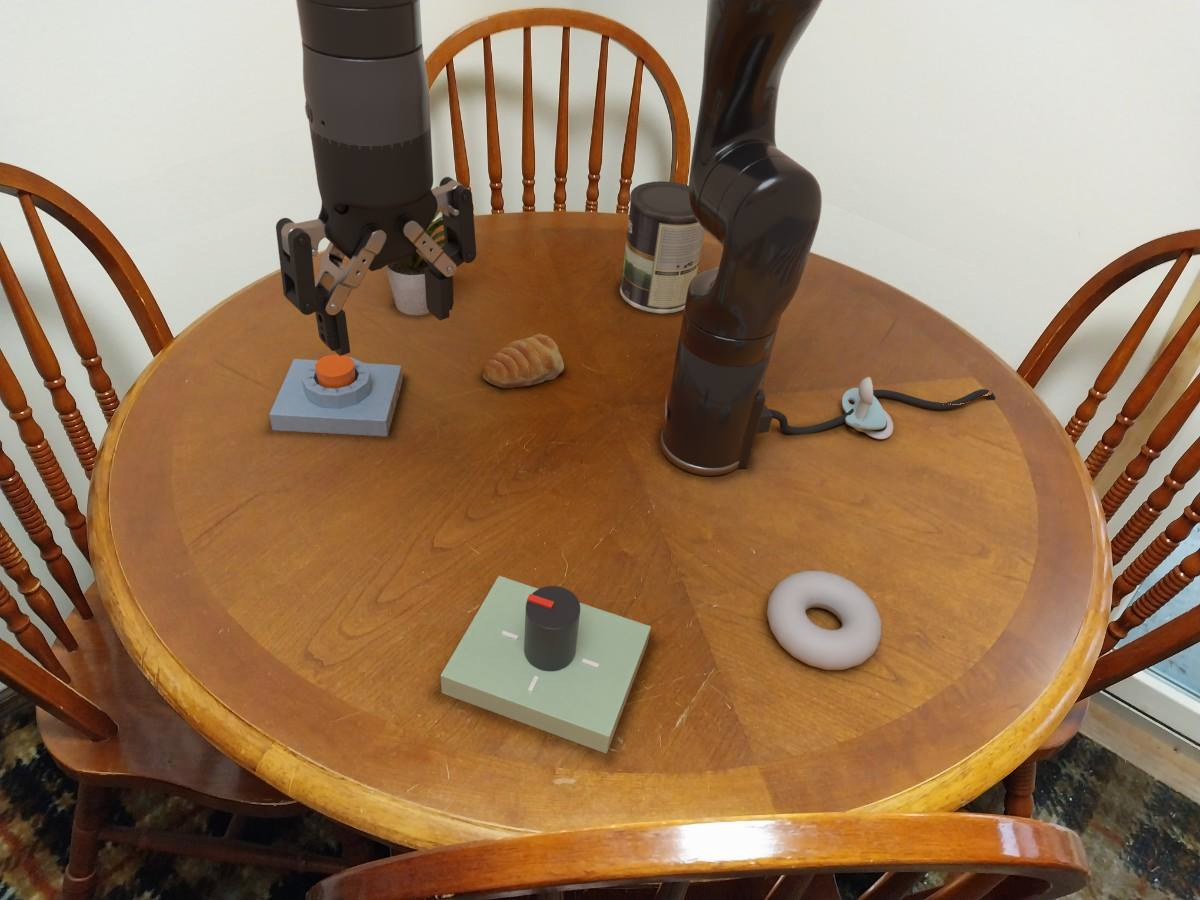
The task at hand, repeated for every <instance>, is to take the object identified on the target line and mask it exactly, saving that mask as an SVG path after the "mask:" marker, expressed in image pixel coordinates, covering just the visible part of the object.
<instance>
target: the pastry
mask: <svg viewBox="0 0 1200 900" xmlns="http://www.w3.org/2000/svg"><path fill="white" fill-rule="evenodd" d="M559 349H560V348H559V346H558V345H557V343H555V341H554V340H553V339H552V337H550V336H549V335H545V334H542V333H537V334H534V335H533V336H530V337H527V338H520V339H519V340H518V339H517V340H512V341H511V342H509V343H508V344H507V345H505V347H503V348H500V350H499V351H497V352H496V353H495V354H493V356H491V357H490V358H489V359H488V360H487V361H486V362H485V363H484V365H483V373H482V378H483V379H484V380H485V382H487V383H489V384H491V385H493V386H495V387H498V388H503V389H512V388H518V387H522V388H525V387H530V386H533V385H534V386H535V385H538V384H542V383H544V382H545V381H551V380H555V379H556V378H557V377H558V376H559V375H560V374H561V373H563V372H564V370H565V363H564V361H563V356H562V355H561V353H560V350H559Z"/></svg>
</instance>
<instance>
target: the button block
mask: <svg viewBox="0 0 1200 900" xmlns="http://www.w3.org/2000/svg"><path fill="white" fill-rule="evenodd" d="M349 357H350V356H349ZM350 358H351V359H352V360H353V361H354V366H355V374H356V379H355V381H354V382H353V383H352V384H350V385H349V386H345V387H341V388H337V389H336V388H325V387H323V386H321V385H320V384H319V383H318V381H317V376H316V370H315V365H316V363H317V361H318V360H319V359H305V358H304V359H302V358H301V359H300V358H293V360H292V362H291V364H290V367H289V369H288V371H287V374H286V376H285V378H284V380H283V383H282V385H281V387H280V389H279V392H278V394H277V396H276V398H275V401H274V402H273V406H272V407H271V409H270V412H269V414H268V416H269V420H270V425H271V429H272V431H281V432H298V433H299V432H300V433H319V434H334V435H335V434H336V435H355V436H372V437H388V436H389V433H390V429H391V425H392V422H393V417H394V415H395V410H396V407H397V405H398V404H397V403H398V401H399V400H398V399H399V396H400V392H401V388H402V384H403V379H404V377H403V370H402V369H403V368H402V365H400V364H387V363H370V362H364V361H361V360H359V359H356V358H355V357H350Z"/></svg>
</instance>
